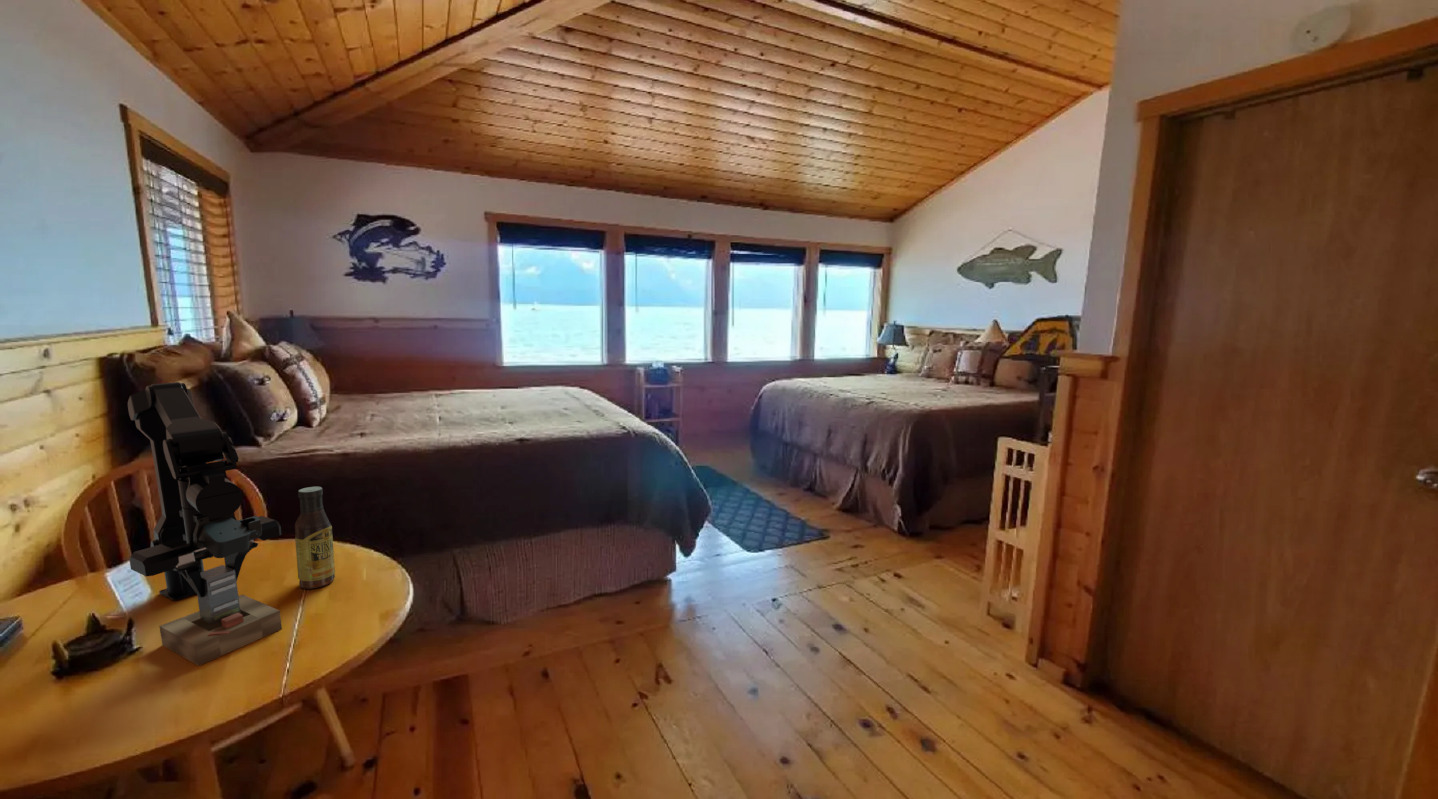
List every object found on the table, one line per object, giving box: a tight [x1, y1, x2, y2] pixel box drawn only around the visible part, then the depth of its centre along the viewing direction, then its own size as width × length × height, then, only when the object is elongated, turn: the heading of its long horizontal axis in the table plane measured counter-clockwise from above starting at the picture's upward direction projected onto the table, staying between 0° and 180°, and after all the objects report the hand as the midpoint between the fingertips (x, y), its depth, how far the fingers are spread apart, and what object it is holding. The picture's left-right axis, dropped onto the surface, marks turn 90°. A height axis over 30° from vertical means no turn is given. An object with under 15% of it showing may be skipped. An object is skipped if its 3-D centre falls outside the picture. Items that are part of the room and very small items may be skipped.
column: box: [196, 564, 241, 624], centre depth 101 cm, size 5×4×8 cm
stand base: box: [159, 594, 283, 666], centre depth 101 cm, size 13×12×5 cm
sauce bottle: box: [294, 486, 336, 590], centre depth 120 cm, size 7×6×20 cm
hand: (217, 591), depth 100 cm, fingers closed on column, 4 cm apart
